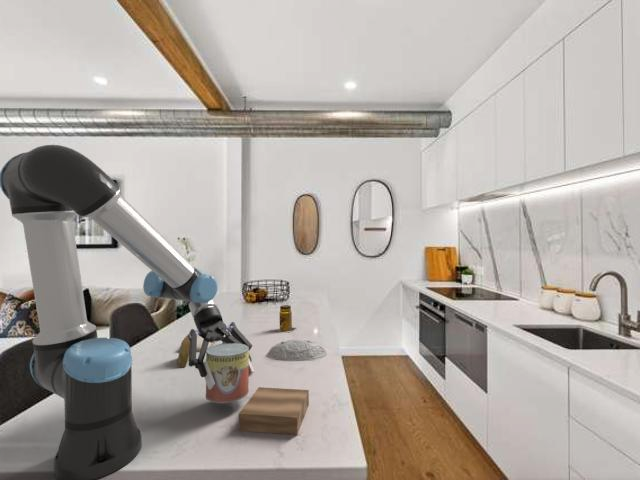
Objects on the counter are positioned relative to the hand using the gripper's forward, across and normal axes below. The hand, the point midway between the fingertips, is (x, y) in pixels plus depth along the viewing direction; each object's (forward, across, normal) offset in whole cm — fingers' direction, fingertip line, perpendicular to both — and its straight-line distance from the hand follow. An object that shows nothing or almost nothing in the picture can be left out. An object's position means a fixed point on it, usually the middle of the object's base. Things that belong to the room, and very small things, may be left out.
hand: (232, 380), depth 89 cm
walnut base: (+14, -6, +3) cm, 15 cm away
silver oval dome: (-9, -40, -19) cm, 45 cm away
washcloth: (-36, -19, -47) cm, 62 cm away
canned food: (+1, 0, -5) cm, 5 cm away
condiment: (-31, -60, -40) cm, 78 cm away
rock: (-25, -5, -36) cm, 44 cm away
